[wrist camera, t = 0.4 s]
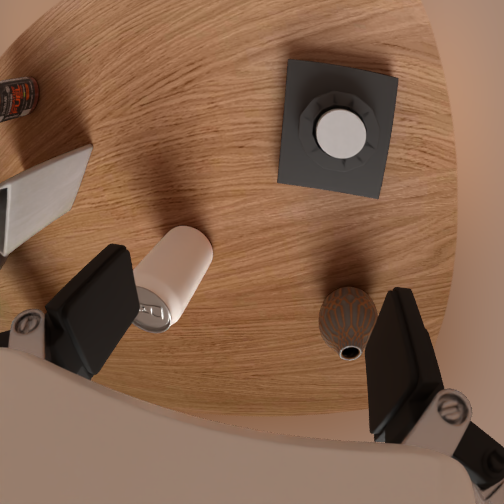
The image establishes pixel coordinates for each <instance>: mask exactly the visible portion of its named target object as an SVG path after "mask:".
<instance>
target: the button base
mask: <svg viewBox="0 0 504 504" xmlns="http://www.w3.org/2000/svg"><path fill="white" fill-rule="evenodd" d="M397 87H398V78H396V77H392V76H388V75H384V74H380V73H375V72H371V71H366V70H361V69H356V68H351V67H345V66H340V65H333V64H327V63H320V62H312V61H304V60H294V59H288V66H287V78H286V90H285V102H284V114H283V125H282V137H281V148H280V158H279V169H278V179H277V183H282V184H289V185H296V186H303V187H310V188H316V189H323V190H329V191H335V192H341V193H347V194H353V195H358V196H364V197H369V198H374V199H379V195H380V190H381V186H382V181H383V176H384V171H385V166H386V161H387V155H388V150H389V144H390V138H391V132H392V125H393V118H394V111H395V104H396V96H397ZM332 109H345V110H348V111H350V112H352V113H354V114H355V115H357V116H358V117H359V118H360V119H361V121H362V122H363V124H364V126H365V130H366V141H365V144H364V146H363V148H362V149H361V150H360V151H359V152H358V153H357V154H356V155H354V156H352V157H349V158H336V157H333V156H330V155H329V154H327V153H326V152H325V151H324V150H323V149H322V148H321V147H320V145H319V143H318V140H317V136H316V126H317V122H318V120H319V118H320V117H321V116H322V115H323V114H324V113H325V112H327V111H329V110H332Z"/></svg>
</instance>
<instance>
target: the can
mask: <svg viewBox="0 0 504 504" xmlns="http://www.w3.org/2000/svg"><path fill="white" fill-rule="evenodd" d="M212 258H213V250H212V246H211V244H210V242H209V240H208V239H207V238H206V236H205V235H204V234H203V233H201V232H200V231H199V230H197V229H195V228H192V227H189V226H178V227H175V228H173V229H171V230H170V231H169V232H168V233H167V234H166V235H165V236H164V237H163V238H162V239H161V240H160V241H159V242H158V243H157V244H156V245H155V247H154V248H153V249H152V250H151V251H150V252H149V253H148V254H147V255H146V256H145V258H144V259H143V260H142V261H141V262H140V263H139V264H138V265H137V267H136V268H135V269H134V270H133V274H134V279H135V284H136V289H137V294H138V299H139V303H140V310H139V313H138V315H137V316H136V318H135V319H134V321H133V322H132V323H133V324H134V325H135V326H137V327H138V328H140V329H142V330H144V331H147V332H151V333H162V332H164V331H166V330H168V329H169V327H170V325H172V324H174V323H175V322H177V321H178V319H179V318H180V316H181V315H182V313H183V311H184V310H185V308H186V306H187V304H188V303H189V301H190V299H191V297H192V296H193V294H194V292H195V290H196V289H197V287H198V285H199V283H200V281H201V280H202V278H203V276H204V274H205V273H206V271H207V269H208V267H209V265H210V263H211V261H212Z"/></svg>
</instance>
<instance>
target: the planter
mask: <svg viewBox="0 0 504 504" xmlns="http://www.w3.org/2000/svg"><path fill="white" fill-rule="evenodd" d="M92 149H93V146H92V145H91V144H88V145H85V146H83V147H80V148H77V149H75V150H72V151H69V152H67V153H64V154H62V155H59V156H57V157H55V158H52V159H50V160H47V161H45V162H43V163H41V164H38V165H36V166H34V167H32V168H29V169H27V170H25V171H23V172H21V173H19V174H17V175H15V176H13V177H11V178H9V179H7V180H6V181H4V182H2V183H0V253H1V254H2V255H3V256H7V255H8V254H9V253H11V252H12V251H13V250H15V249H16V248H17V247H19V246H20V245H21V244H22V243H24V242H25V241H26V240H28V239H29V238H30V237H32V236H33V235H35V234H36V233H37V232H39V231H40V230H42V229H43V228H44V227H46V226H47V225H49V224H50V223H52V222H53V221H55V220H56V219H57V218H59V217H60V216H62V215H63V214H65V213H67V212H68V211H70V210H71V207H72V205H73V202H74V200H75V198H76V195H77V192H78V189H79V186H80V184H81V181H82V178H83V175H84V172H85V169H86V166H87V163H88V160H89V157H90V154H91V151H92Z"/></svg>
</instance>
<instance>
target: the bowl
mask: <svg viewBox="0 0 504 504" xmlns="http://www.w3.org/2000/svg"><path fill="white" fill-rule="evenodd" d="M8 255H9V254H8ZM8 255H7V256H3V255H2V254H1V253H0V270H1V268H2V267H3V265H4V263H5V261H6V259H7V257H8Z"/></svg>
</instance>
